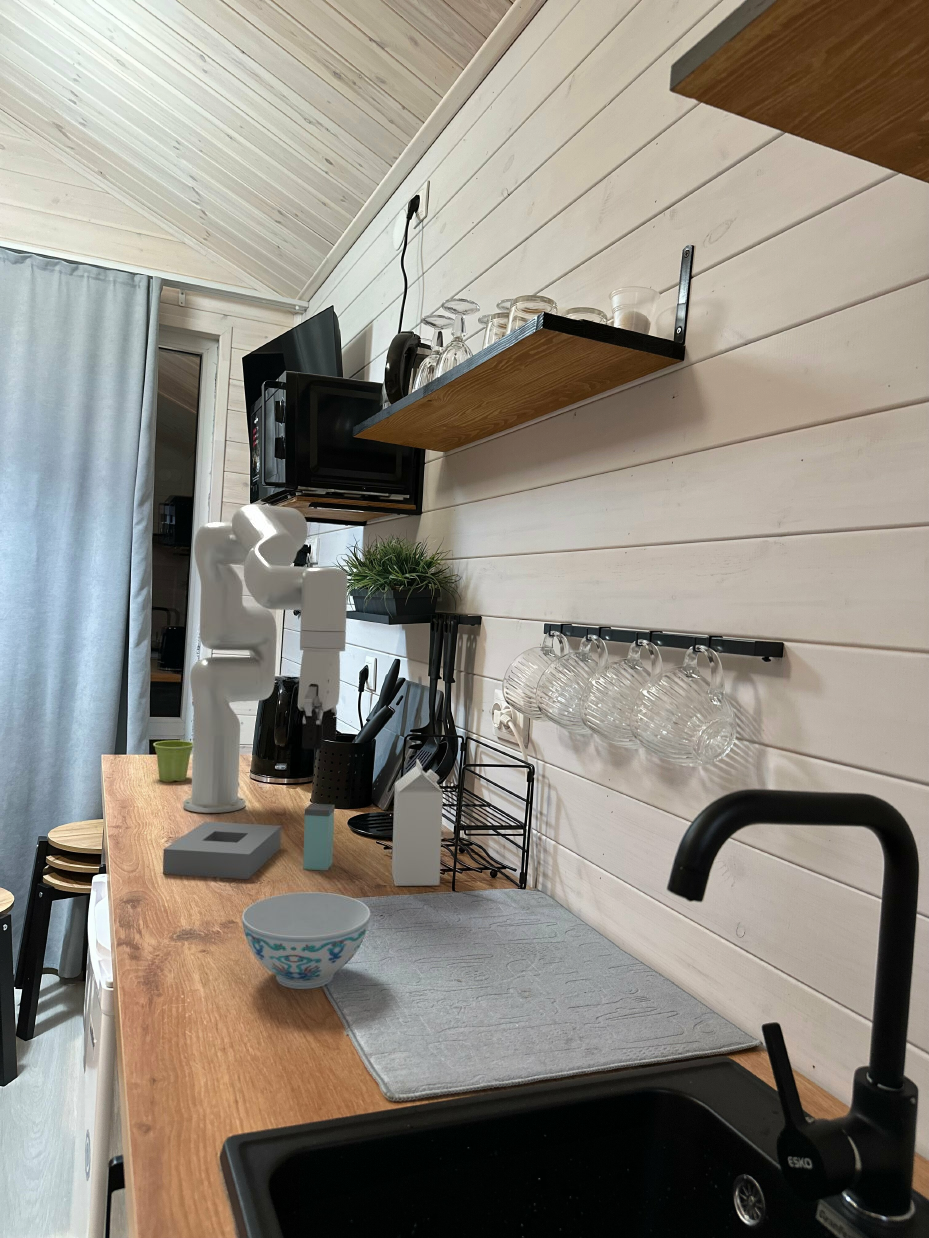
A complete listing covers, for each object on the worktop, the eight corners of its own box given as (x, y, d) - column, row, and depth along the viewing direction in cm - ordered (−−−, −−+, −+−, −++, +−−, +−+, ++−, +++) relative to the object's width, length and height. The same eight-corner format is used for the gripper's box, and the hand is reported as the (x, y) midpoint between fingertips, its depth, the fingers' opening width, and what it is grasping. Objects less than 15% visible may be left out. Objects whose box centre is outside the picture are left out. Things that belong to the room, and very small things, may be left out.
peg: (308, 861, 152) (310, 803, 152) (332, 863, 152) (334, 804, 152) (302, 868, 148) (304, 809, 148) (327, 870, 148) (329, 810, 148)
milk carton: (394, 887, 141) (399, 767, 140) (391, 873, 148) (395, 758, 147) (439, 886, 142) (444, 767, 141) (434, 872, 149) (438, 759, 148)
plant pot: (200, 777, 217) (201, 742, 217) (180, 785, 208) (181, 748, 208) (166, 774, 219) (167, 739, 219) (144, 781, 210) (145, 745, 210)
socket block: (204, 843, 161) (205, 821, 161) (280, 848, 160) (281, 825, 160) (162, 873, 143) (163, 848, 143) (248, 879, 142) (249, 854, 142)
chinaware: (287, 943, 116) (289, 885, 116) (389, 966, 110) (392, 904, 110) (213, 988, 102) (215, 922, 102) (326, 1016, 97) (328, 946, 96)
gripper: (313, 639, 158) (310, 735, 158) (285, 643, 141) (282, 751, 141) (355, 640, 157) (352, 737, 158) (332, 645, 140) (329, 753, 140)
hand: (319, 743), depth 149 cm, fingers open, 9 cm apart
